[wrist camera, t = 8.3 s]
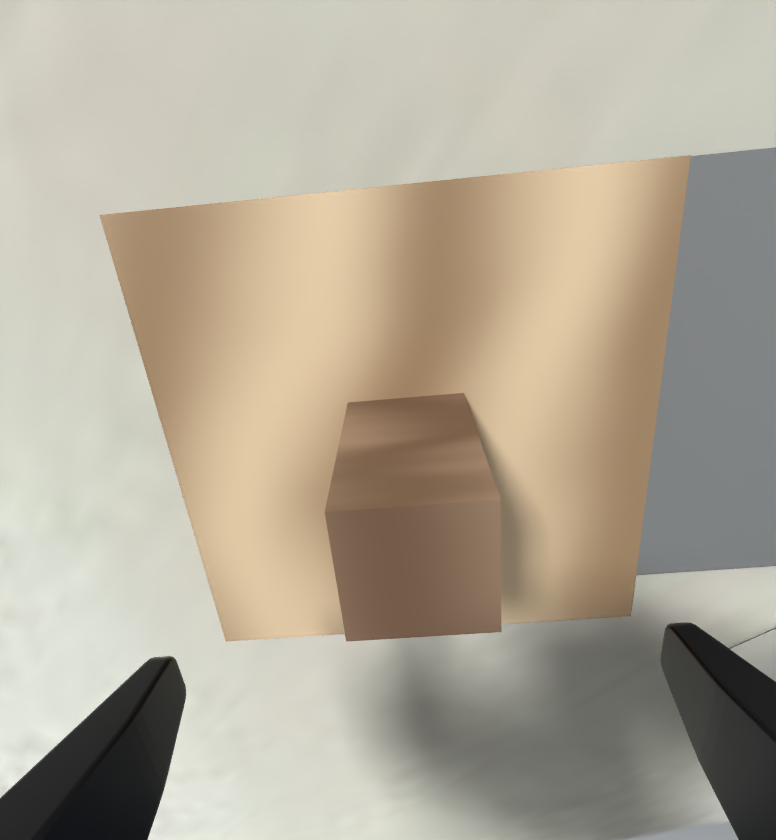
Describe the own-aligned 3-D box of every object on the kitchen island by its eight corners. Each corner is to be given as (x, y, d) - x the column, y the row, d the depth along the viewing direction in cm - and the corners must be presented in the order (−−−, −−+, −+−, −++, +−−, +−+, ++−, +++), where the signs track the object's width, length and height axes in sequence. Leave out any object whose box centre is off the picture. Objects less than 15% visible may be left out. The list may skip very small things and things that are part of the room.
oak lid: (676, 157, 12) (902, 130, 6) (623, 602, 17) (723, 782, 12) (112, 213, 12) (-92, 231, 7) (231, 626, 17) (164, 808, 12)
